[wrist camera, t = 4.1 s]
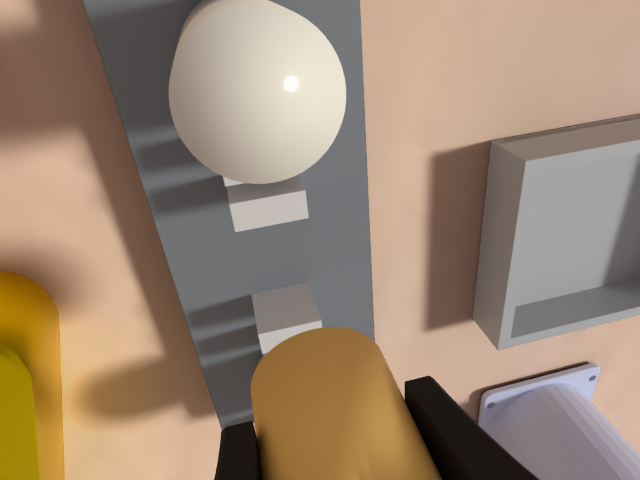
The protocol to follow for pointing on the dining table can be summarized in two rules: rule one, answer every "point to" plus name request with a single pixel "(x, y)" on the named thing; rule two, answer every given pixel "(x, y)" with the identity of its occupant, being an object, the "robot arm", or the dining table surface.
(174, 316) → the dining table surface
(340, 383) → the cylinder
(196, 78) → the cream fuse
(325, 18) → the fuse block
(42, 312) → the element tile
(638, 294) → the grey tray
